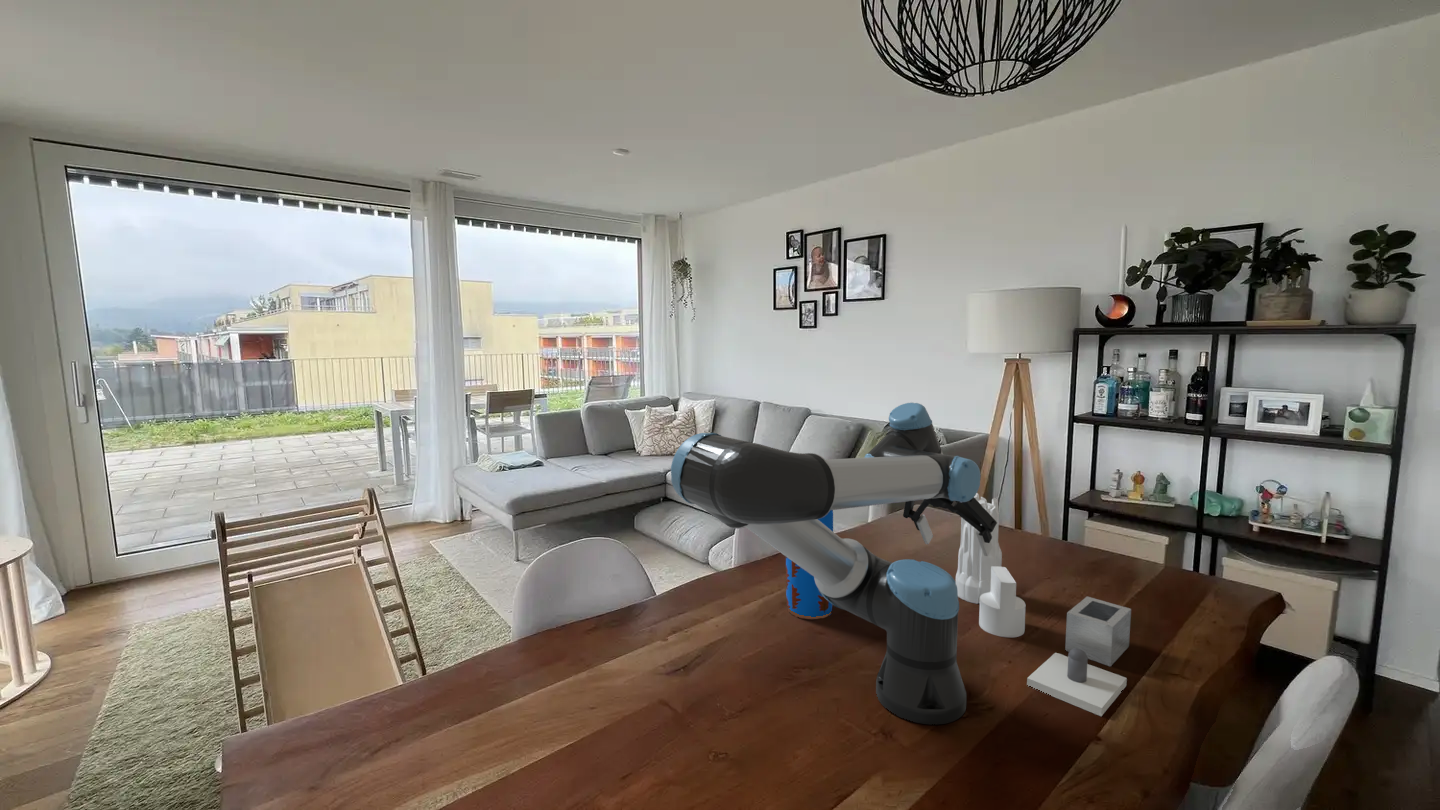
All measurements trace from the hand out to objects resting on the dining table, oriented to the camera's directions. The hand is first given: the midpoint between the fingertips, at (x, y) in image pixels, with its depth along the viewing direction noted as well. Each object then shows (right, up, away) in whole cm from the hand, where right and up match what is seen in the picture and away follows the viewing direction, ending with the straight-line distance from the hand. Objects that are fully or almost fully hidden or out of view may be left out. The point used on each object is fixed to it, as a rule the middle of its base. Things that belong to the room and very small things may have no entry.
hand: (957, 545), depth 132 cm
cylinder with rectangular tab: (+9, -18, -1) cm, 20 cm away
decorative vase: (+11, -16, +15) cm, 24 cm away
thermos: (-31, -17, +9) cm, 37 cm away
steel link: (+24, -18, -11) cm, 32 cm away
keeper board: (+12, -20, -23) cm, 33 cm away
